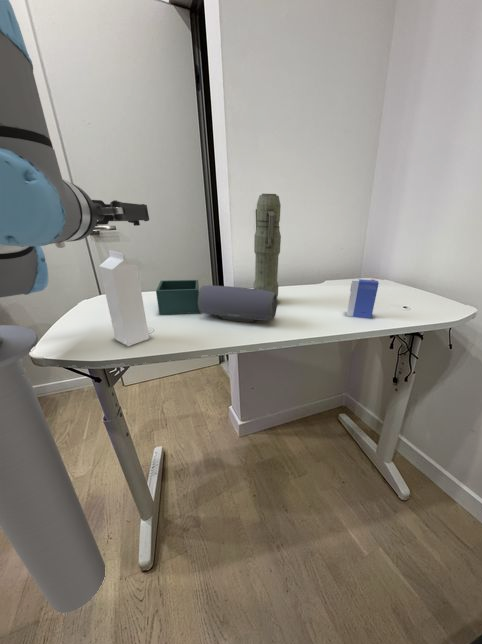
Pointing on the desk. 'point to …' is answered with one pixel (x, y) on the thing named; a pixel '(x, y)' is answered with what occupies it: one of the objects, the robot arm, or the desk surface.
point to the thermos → (267, 243)
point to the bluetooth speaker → (237, 303)
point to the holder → (178, 297)
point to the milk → (124, 299)
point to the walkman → (362, 298)
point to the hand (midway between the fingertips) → (94, 216)
